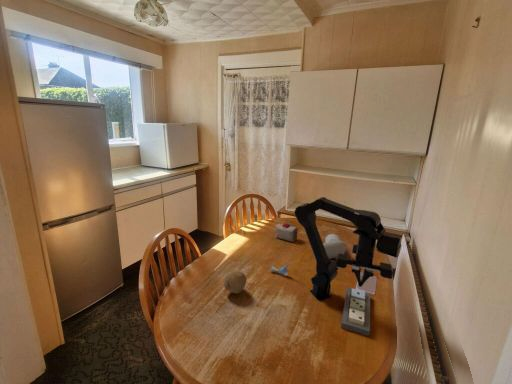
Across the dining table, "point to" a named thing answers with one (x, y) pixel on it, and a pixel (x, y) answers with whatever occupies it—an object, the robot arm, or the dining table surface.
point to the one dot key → (358, 294)
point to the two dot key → (356, 317)
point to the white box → (286, 232)
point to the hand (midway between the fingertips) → (360, 286)
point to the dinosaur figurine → (280, 270)
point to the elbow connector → (334, 246)
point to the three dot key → (357, 304)
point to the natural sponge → (235, 281)
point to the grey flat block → (366, 328)
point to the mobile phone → (368, 285)
